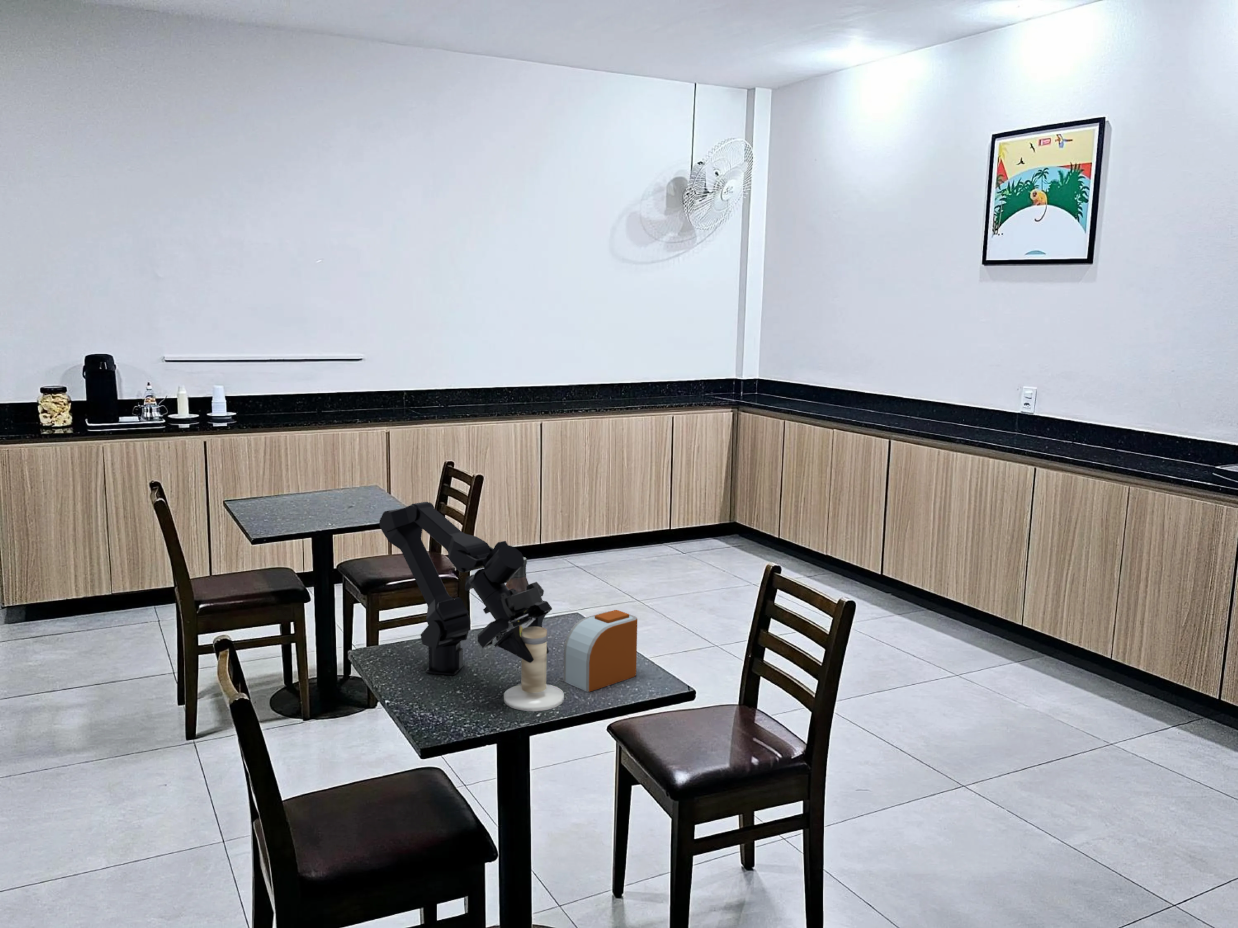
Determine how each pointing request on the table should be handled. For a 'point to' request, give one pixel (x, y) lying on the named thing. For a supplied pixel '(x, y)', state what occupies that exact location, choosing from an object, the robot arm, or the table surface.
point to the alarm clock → (601, 650)
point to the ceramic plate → (533, 698)
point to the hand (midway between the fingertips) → (539, 657)
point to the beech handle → (536, 670)
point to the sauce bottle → (519, 582)
